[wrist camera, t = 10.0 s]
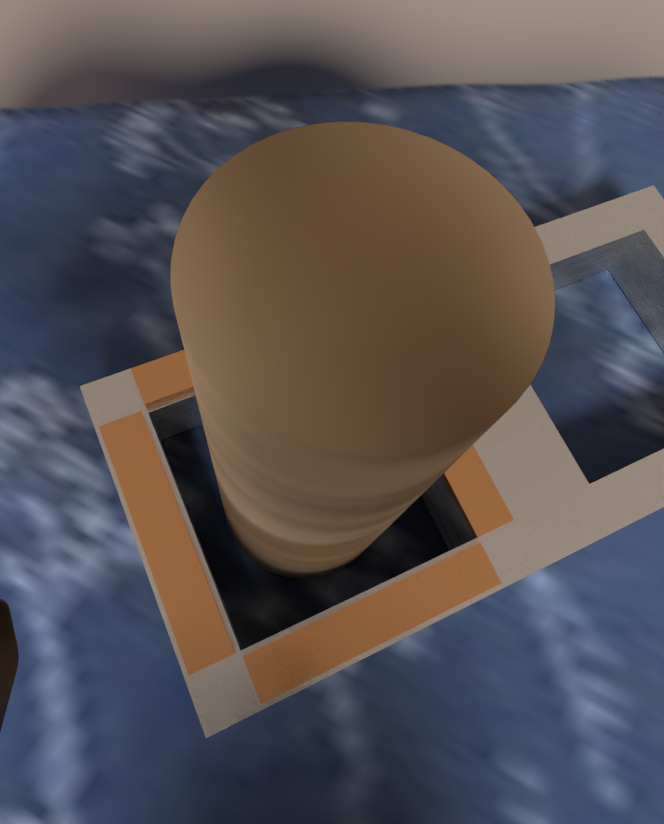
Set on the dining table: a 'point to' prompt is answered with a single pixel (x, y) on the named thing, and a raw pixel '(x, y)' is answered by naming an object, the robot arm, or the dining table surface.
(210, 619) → the compartment tray
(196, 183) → the dining table surface
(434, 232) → the wooden peg
